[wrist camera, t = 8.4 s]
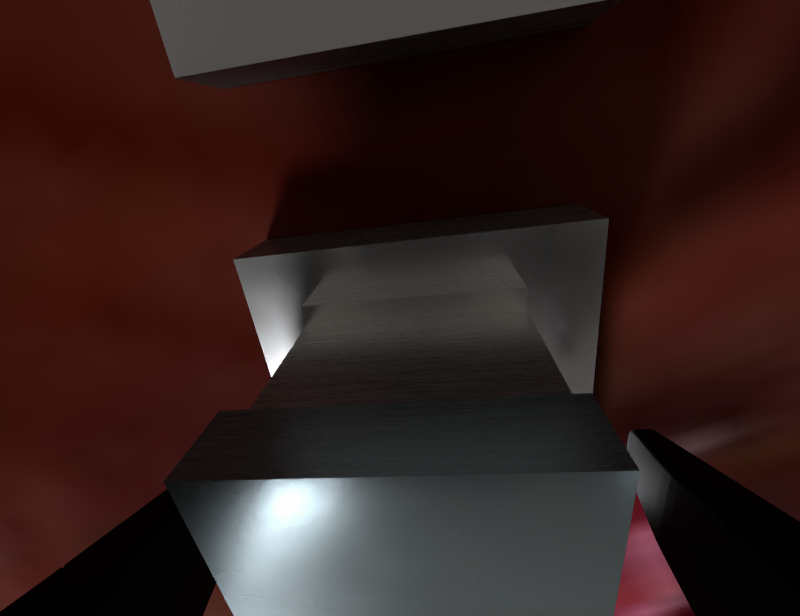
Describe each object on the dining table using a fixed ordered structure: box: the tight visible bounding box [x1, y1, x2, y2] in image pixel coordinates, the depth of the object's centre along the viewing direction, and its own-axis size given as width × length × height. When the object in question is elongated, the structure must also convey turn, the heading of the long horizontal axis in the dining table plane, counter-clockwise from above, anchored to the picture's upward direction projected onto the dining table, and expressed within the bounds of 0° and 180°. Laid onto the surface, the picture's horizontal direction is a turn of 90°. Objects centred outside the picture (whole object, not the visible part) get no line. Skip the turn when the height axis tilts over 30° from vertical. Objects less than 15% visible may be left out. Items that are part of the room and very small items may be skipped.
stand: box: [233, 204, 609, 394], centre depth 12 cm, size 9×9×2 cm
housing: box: [164, 270, 640, 616], centre depth 8 cm, size 5×7×6 cm
